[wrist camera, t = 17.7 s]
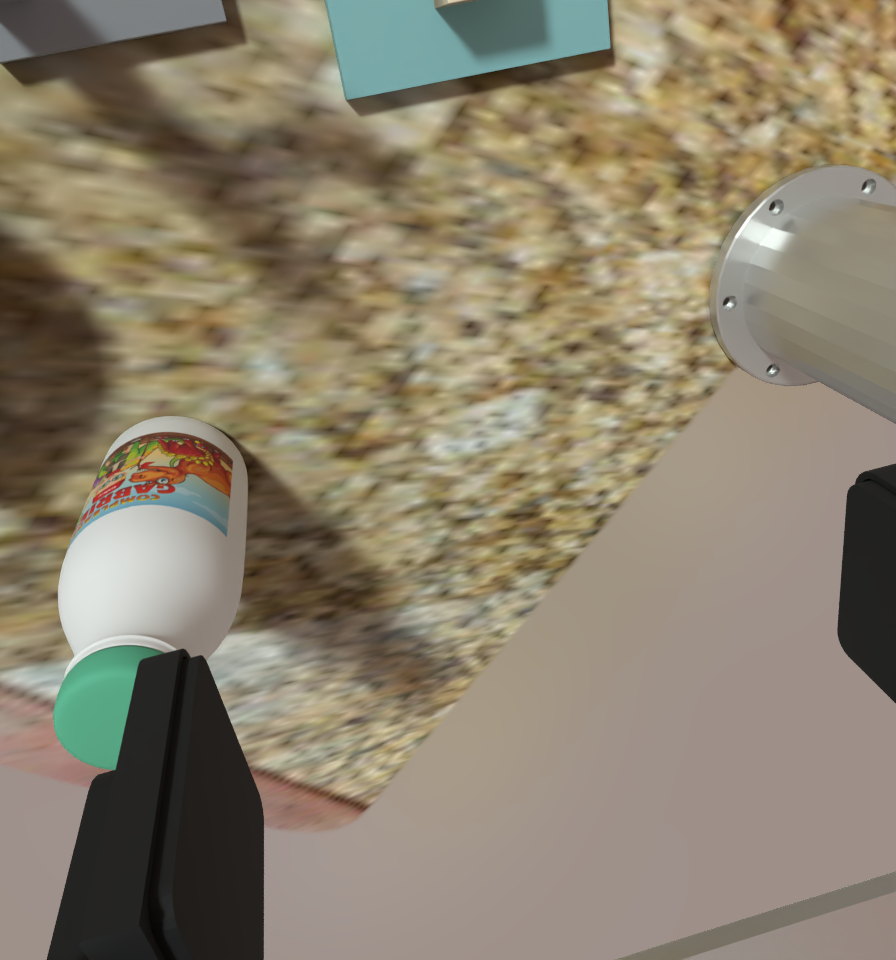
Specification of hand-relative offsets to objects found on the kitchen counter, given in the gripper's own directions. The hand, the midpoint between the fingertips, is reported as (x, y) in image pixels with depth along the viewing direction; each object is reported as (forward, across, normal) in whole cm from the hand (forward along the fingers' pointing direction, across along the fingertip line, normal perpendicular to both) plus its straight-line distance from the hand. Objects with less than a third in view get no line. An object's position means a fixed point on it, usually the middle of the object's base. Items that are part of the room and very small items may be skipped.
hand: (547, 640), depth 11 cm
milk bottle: (+34, +12, +11) cm, 38 cm away
